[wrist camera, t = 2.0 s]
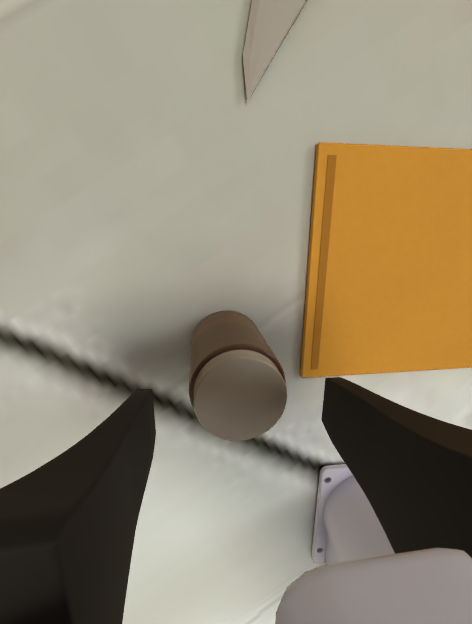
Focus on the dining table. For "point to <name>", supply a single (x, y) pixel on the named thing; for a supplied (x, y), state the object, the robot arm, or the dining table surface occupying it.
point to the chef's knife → (266, 36)
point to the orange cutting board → (389, 261)
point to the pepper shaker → (234, 378)
